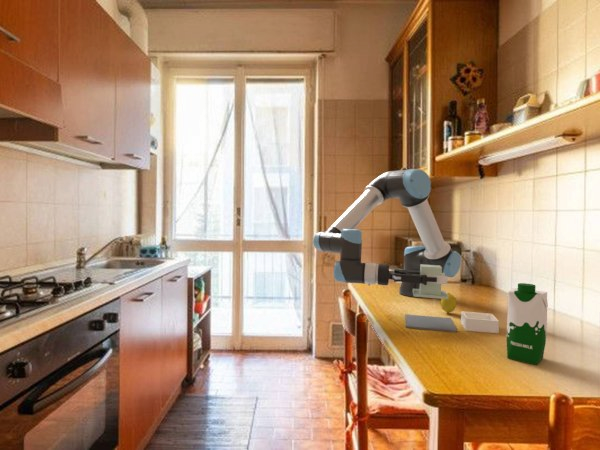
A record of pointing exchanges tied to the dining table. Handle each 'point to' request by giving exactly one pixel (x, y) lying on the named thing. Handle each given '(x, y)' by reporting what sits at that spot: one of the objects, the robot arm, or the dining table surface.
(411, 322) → the mat
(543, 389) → the dining table surface
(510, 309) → the milk carton
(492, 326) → the open box
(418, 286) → the robot arm
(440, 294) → the lid
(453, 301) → the lemon
